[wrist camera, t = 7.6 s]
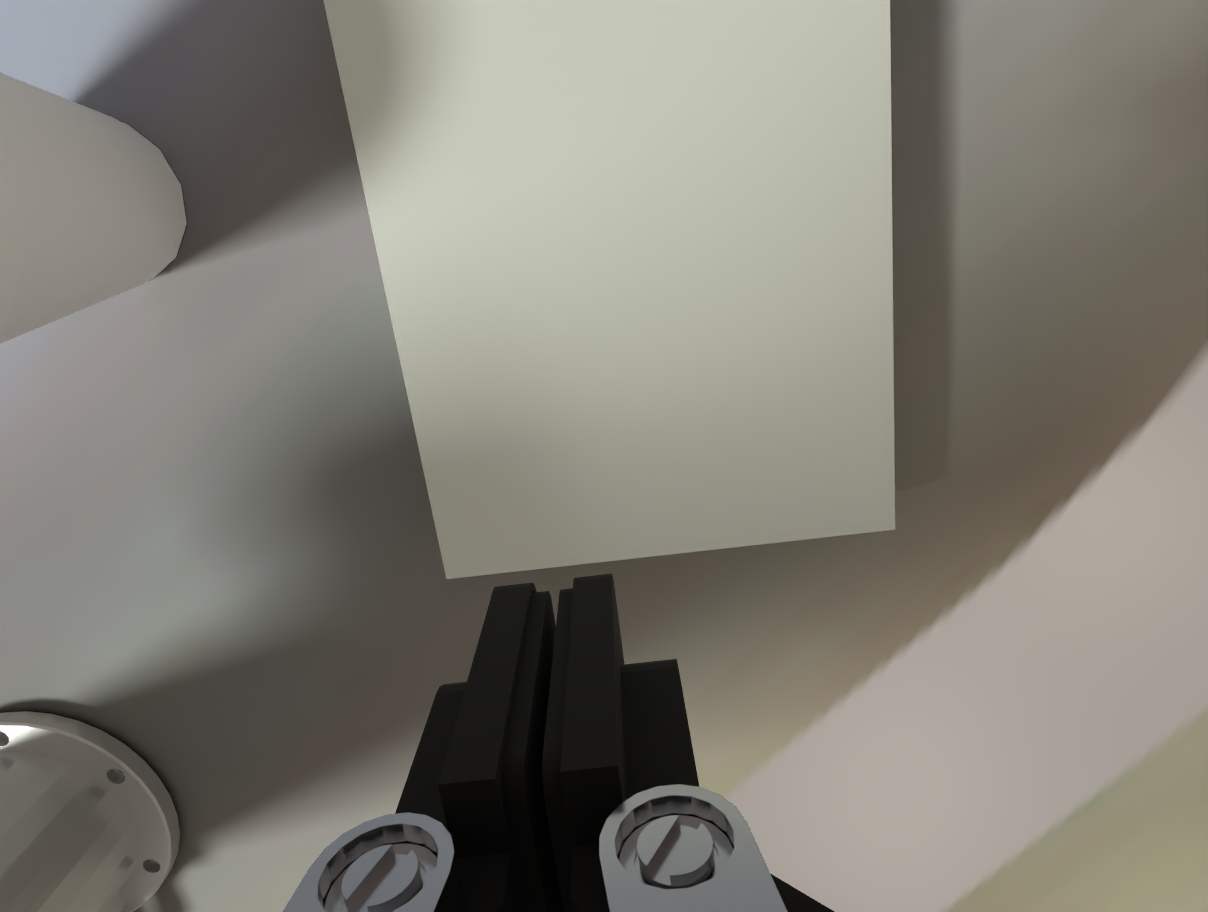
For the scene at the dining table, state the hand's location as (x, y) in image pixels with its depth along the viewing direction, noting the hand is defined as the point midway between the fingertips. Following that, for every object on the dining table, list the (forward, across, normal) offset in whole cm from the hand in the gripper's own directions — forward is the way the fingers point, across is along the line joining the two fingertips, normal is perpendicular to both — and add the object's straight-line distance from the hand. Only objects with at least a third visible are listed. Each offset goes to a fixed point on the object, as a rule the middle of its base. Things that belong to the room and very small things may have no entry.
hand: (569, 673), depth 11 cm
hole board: (+21, -2, -8) cm, 23 cm away
